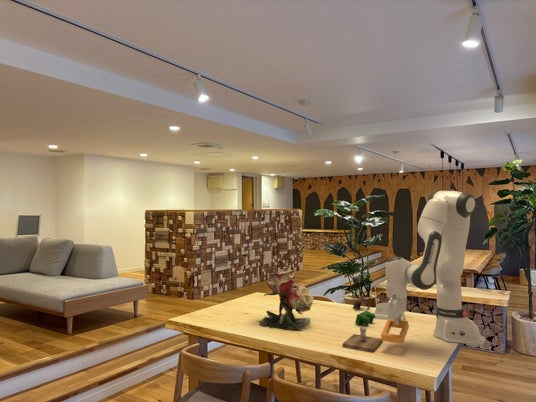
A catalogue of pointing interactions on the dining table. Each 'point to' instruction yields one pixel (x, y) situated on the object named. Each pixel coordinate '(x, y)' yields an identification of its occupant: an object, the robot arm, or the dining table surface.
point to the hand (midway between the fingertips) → (398, 323)
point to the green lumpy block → (365, 318)
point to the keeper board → (363, 342)
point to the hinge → (384, 312)
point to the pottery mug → (360, 303)
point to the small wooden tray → (391, 337)
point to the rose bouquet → (288, 302)
